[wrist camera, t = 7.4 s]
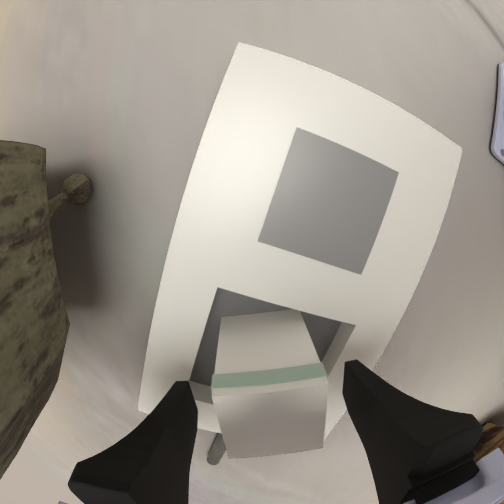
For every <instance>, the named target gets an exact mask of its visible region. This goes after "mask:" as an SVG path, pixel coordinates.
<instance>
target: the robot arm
mask: <svg viewBox="0 0 504 504" xmlns="http://www.w3.org/2000/svg"><path fill="white" fill-rule="evenodd" d="M491 151H492V153H493V155H494V156H495V157H496V158H497V159H498V160H500V161H501V162H502V163H503V164H504V63H500V64H499V77H498V95H497V106H496V116H495V124H494V131H493V137H492V143H491ZM342 394H343V397H344V401H345V404H346V407H347V410H348V413H349V415H350V417H351V419H352V421H353V424H354V426H355V428H356V430H357V432H358V434H359V437H360V439H361V441H362V443H363V446H364V448H365V451H366V454H367V457H368V460H369V464H370V467H371V471H372V474H373V478H374V482H375V486H376V491H377V495H378V500H379V504H500V503H501V502H502V501H503V500H504V454H503V452H502V451H501V450H500V448H497V449H495V450H494V451H492V452H491V453H489V454H488V455H486V456H484V457H483V458H482V459H480V460H479V461H478V462H477V463H475V461H474V460H473V459H474V458H475V454H474V453H473V451H472V450H473V449H474V447H475V446H476V444H477V442H478V441H479V439H480V437H481V435H482V432H483V427H482V426H481V424H480V423H479V422H478V421H477V419H476V418H475V417H474V416H473V415H472V414H466V413H459V412H453V411H449V410H445V409H441V408H438V407H435V406H432V405H429V404H426V403H424V402H421V401H419V400H417V399H415V398H413V397H411V396H409V395H407V394H405V393H403V392H401V391H400V390H398V389H396V388H395V387H393V386H392V385H390V384H389V383H387V382H386V381H384V380H383V379H382V378H380V377H379V376H378V375H376V374H375V373H374V372H372V371H371V370H370V369H369V368H367V367H366V366H365V365H364V364H362V363H361V362H360V361H359V360H357V359H356V360H351V361H346V362H345V364H344V378H343V390H342ZM197 425H198V408H197V405H196V402H195V399H194V396H193V393H192V390H191V387H190V384H189V381H176V382H175V383H174V384H173V385H172V387H171V388H170V389H169V391H168V392H167V393H166V395H165V396H164V397H163V398H162V400H161V401H160V402H159V403H158V405H157V406H156V407H155V408H154V409H153V411H152V412H151V413H150V414H149V415H148V416H147V417H146V418H145V419H144V420H143V421H142V422H141V423H140V424H139V425H138V426H137V427H136V428H135V429H134V430H133V431H132V432H130V433H129V434H128V435H127V436H125V437H124V438H123V439H121V440H120V441H118V442H117V443H116V444H114V445H113V446H111V447H109V448H108V449H106V450H104V451H102V452H101V453H99V454H97V455H95V456H93V457H90V458H88V459H85V460H83V461H81V462H78V463H77V464H76V466H75V468H74V470H73V473H72V475H71V477H70V480H69V482H68V486H69V489H70V490H71V491H72V492H73V494H75V495H76V496H77V497H78V498H79V499H80V500H81V501H82V502H83V503H84V504H188V492H189V472H190V464H191V459H192V454H193V449H194V443H195V438H196V433H197ZM58 504H67V503H64V502H61V501H60V502H59V503H58Z"/></svg>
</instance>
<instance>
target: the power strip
mask: <svg viewBox="0 0 504 504" xmlns="http://www.w3.org/2000/svg"><path fill="white" fill-rule="evenodd" d="M462 151H463V149H462V148H461V147H459V146H458V145H457V144H455V143H454V142H453V141H451V140H450V139H448V138H447V137H446V136H444V135H443V134H441V133H440V132H438V131H437V130H435V129H434V128H432V127H431V126H429V125H428V124H426V123H425V122H423V121H421V120H420V119H418V118H417V117H415V116H413V115H412V114H410V113H408V112H407V111H405V110H403V109H402V108H400V107H398V106H396V105H395V104H393V103H391V102H389V101H387V100H385V99H384V98H382V97H380V96H378V95H376V94H374V93H372V92H370V91H368V90H366V89H364V88H362V87H360V86H358V85H356V84H354V83H352V82H349V81H347V80H345V79H343V78H341V77H338V76H336V75H334V74H331V73H329V72H327V71H324V70H322V69H319V68H317V67H314V66H312V65H309V64H306V63H304V62H301V61H298V60H295V59H293V58H290V57H287V56H284V55H281V54H278V53H275V52H272V51H268V50H265V49H262V48H258V47H255V46H251V45H247V44H244V43H240V42H239V43H238V45H237V48H236V50H235V52H234V55H233V57H232V59H231V62H230V64H229V67H228V69H227V72H226V74H225V77H224V79H223V82H222V84H221V87H220V89H219V92H218V94H217V97H216V100H215V102H214V105H213V108H212V110H211V113H210V116H209V119H208V121H207V124H206V127H205V130H204V133H203V136H202V139H201V142H200V144H199V147H198V150H197V153H196V157H195V160H194V163H193V166H192V169H191V172H190V175H189V178H188V182H187V185H186V188H185V192H184V195H183V198H182V202H181V205H180V209H179V212H178V216H177V219H176V223H175V227H174V230H173V234H172V238H171V242H170V246H169V249H168V253H167V257H166V261H165V266H164V270H163V274H162V278H161V283H160V287H159V291H158V296H157V300H156V305H155V310H154V315H153V320H152V325H151V330H150V335H149V340H148V346H147V351H146V357H145V363H144V369H143V375H142V382H141V389H140V396H139V403H138V411H141V412H144V413H147V414H150V413H151V412H152V411H153V409H154V408H155V407H156V406H157V405H158V403H159V402H160V401H161V400H162V398H163V397H164V396H165V395H166V393H167V392H168V391H169V389H170V388H171V387H172V385H173V384H174V383H175V382H176V381H189V384H190V387H191V390H192V393H193V396H194V399H195V402H196V405H197V408H198V425H197V428H199V429H204V430H208V431H212V432H217V433H218V435H217V437H216V439H215V441H214V444H213V446H212V448H211V450H210V452H209V454H208V456H207V462H208V463H209V464H211V465H216V464H218V463H219V461H220V459H221V458H222V456H223V454H224V452H225V450H226V447H225V443H224V440H223V436H222V433H221V429H220V426H219V422H218V419H217V415H216V411H215V408H214V404H213V400H212V391H211V383H212V375H213V374H214V372H215V364H216V355H217V347H218V339H219V332H220V324H221V317H227V316H238V315H248V314H257V313H267V312H276V311H284V310H292V309H295V310H299V311H300V312H301V315H302V317H303V320H304V322H305V325H306V327H307V330H308V332H309V335H310V337H311V340H312V342H313V345H314V347H315V350H316V352H317V355H318V357H319V360H320V363H321V362H322V363H323V366H324V368H325V371H326V373H327V381H328V383H329V385H328V399H327V412H326V423H325V433H324V439H325V438H326V437H327V436H328V434H329V433H330V432H331V430H332V429H333V428H334V426H335V425H336V424H337V422H338V421H339V420H340V418H341V417H342V416H343V414H344V413H345V411H346V410H347V407H346V404H345V401H344V397H343V394H342V390H343V378H344V364H345V362H346V361H351V360H356V359H357V360H359V361H360V362H361V363H362V364H364V365H365V366H366V367H367V368H369V369H370V370H371V371H372V370H373V369H374V367H375V365H376V364H377V362H378V360H379V359H380V357H381V355H382V354H383V352H384V350H385V348H386V347H387V345H388V343H389V341H390V339H391V338H392V336H393V334H394V332H395V330H396V328H397V326H398V324H399V322H400V321H401V319H402V317H403V315H404V313H405V311H406V309H407V307H408V304H409V302H410V300H411V298H412V296H413V294H414V292H415V290H416V287H417V285H418V283H419V281H420V278H421V276H422V274H423V271H424V269H425V267H426V264H427V262H428V259H429V257H430V254H431V252H432V249H433V247H434V244H435V241H436V239H437V236H438V233H439V230H440V227H441V225H442V222H443V219H444V216H445V213H446V210H447V206H448V203H449V200H450V197H451V193H452V190H453V186H454V183H455V179H456V175H457V172H458V168H459V164H460V159H461V155H462Z"/></svg>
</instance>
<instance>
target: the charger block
mask: <svg viewBox="0 0 504 504" xmlns="http://www.w3.org/2000/svg"><path fill="white" fill-rule="evenodd" d="M328 385H329V383H328V381H327V373H326V371H325V368H324V366H323V363H322V362H321V363H320V360H319V357H318V355H317V352H316V350H315V347H314V345H313V342H312V340H311V337H310V335H309V332H308V330H307V327H306V325H305V322H304V320H303V317H302V315H301V312H300V311H299V310H295V309H292V310H284V311H276V312H267V313H257V314H248V315H238V316H227V317H221V324H220V332H219V339H218V347H217V355H216V364H215V372H214V374H213V375H212V383H211V391H212V400H213V404H214V408H215V411H216V415H217V419H218V422H219V426H220V429H221V433H222V436H223V440H224V443H225V447H226V450H227V453H228V457H229V458H247V457H260V456H270V455H279V454H287V453H295V452H301V451H308V450H313V449H319V448H323V442H324V433H325V423H326V412H327V399H328Z"/></svg>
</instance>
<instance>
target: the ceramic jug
mask: <svg viewBox="0 0 504 504" xmlns="http://www.w3.org/2000/svg"><path fill="white" fill-rule="evenodd" d="M497 448H500V450H501V451H502V452H503V454H504V426H498V425H496V424H494V423H487V424H485V425H484V426H483V432H482V435H481V437H480V439H479V441H478V442H477V444H476V446H475V447H474V449H473V450H472V451H473V453H474V454H475V458H474V459H473V460H474V461H475V463H477V462H478V461H479V460H480V459H482V458H483V457H484V456H486V455H488V454H489V453H491V452H492V451H494V450H495V449H497ZM500 504H504V500H503V501H502V502H501V503H500Z"/></svg>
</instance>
